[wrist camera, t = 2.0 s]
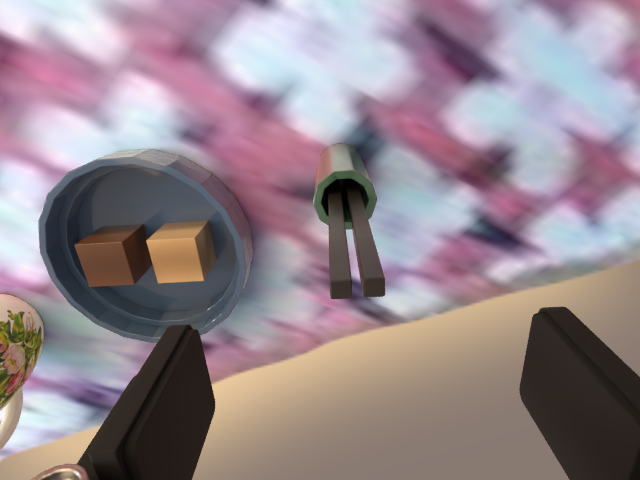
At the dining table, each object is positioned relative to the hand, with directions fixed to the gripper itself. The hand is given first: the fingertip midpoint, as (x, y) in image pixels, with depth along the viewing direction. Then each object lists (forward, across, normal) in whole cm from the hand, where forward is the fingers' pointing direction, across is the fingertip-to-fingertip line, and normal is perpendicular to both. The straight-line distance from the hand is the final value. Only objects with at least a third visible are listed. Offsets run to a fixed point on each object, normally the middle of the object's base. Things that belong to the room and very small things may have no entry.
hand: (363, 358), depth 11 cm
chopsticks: (+23, 0, 0) cm, 23 cm away
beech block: (+23, +14, +6) cm, 28 cm away
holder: (+24, 0, 0) cm, 24 cm away
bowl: (+24, +17, +6) cm, 30 cm away
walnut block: (+23, +20, +6) cm, 31 cm away
